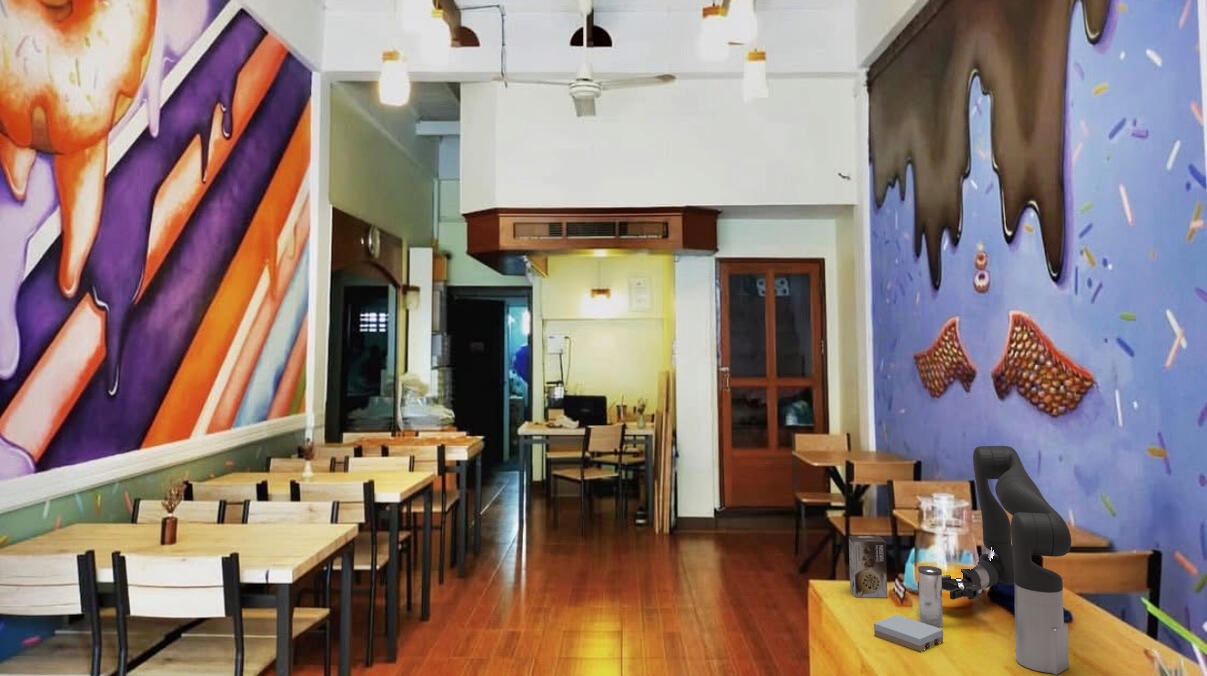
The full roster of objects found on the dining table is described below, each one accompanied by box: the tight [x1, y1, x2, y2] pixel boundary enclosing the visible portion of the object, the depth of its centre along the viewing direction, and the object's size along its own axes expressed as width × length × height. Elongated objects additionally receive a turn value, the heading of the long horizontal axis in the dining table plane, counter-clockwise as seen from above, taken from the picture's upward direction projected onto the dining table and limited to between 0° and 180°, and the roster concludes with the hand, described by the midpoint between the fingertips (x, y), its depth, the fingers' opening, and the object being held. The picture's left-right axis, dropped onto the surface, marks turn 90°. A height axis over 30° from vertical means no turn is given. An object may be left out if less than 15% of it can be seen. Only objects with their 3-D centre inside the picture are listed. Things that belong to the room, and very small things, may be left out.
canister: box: [917, 565, 944, 628], centre depth 178 cm, size 6×6×14 cm
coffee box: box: [848, 535, 888, 599], centre depth 201 cm, size 9×6×16 cm
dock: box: [873, 614, 944, 652], centre depth 169 cm, size 12×10×3 cm
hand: (935, 590), depth 179 cm, fingers open, 8 cm apart
